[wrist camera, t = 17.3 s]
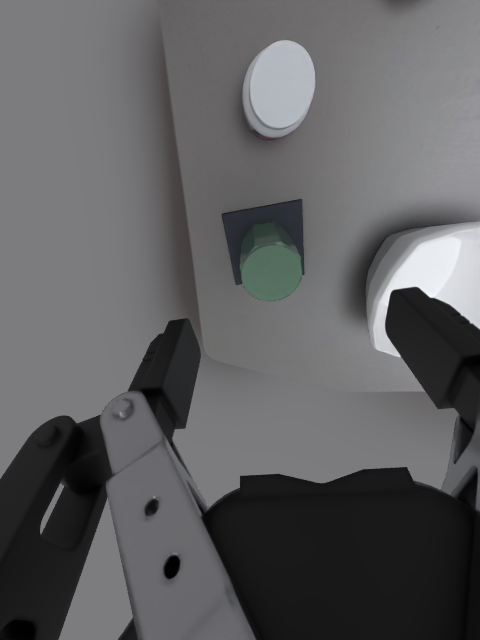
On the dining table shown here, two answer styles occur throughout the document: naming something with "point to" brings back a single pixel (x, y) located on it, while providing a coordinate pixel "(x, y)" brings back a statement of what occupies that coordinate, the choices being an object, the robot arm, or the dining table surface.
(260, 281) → the cup
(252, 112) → the pill bottle
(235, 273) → the coaster
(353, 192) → the dining table surface
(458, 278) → the bowl
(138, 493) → the robot arm
